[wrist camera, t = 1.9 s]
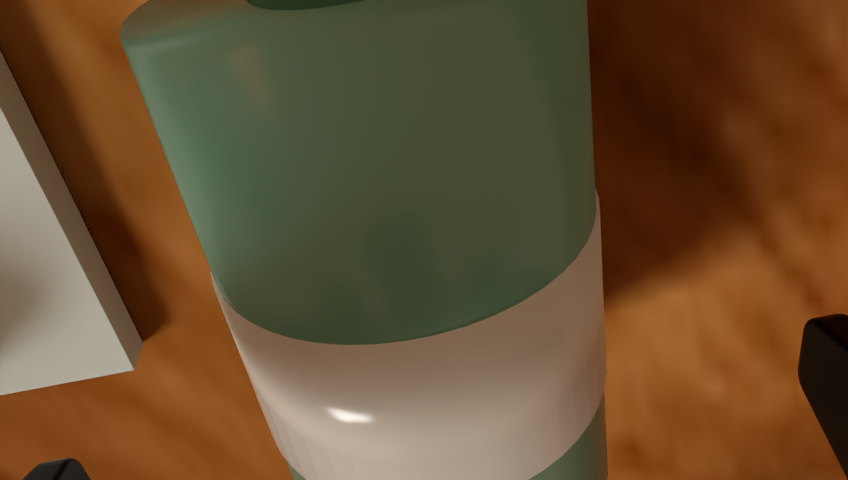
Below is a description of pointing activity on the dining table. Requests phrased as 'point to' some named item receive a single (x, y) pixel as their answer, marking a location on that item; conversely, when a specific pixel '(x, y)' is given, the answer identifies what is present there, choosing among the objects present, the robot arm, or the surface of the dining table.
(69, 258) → the white four-legged tray
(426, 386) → the bottle
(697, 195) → the dining table surface
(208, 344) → the dining table surface
